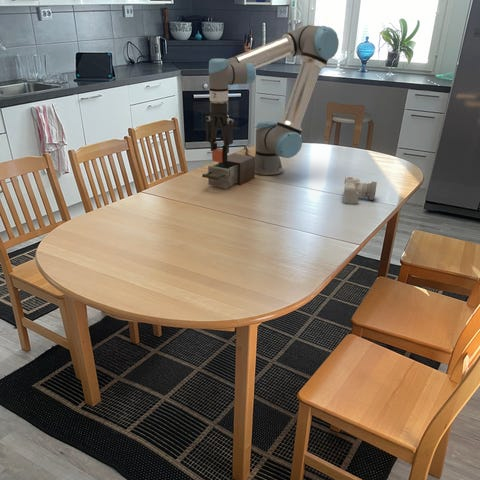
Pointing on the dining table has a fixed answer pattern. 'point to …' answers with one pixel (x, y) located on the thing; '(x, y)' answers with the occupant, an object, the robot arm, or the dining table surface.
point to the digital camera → (357, 190)
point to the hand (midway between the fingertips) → (219, 159)
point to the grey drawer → (222, 174)
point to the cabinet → (243, 166)
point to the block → (218, 155)
